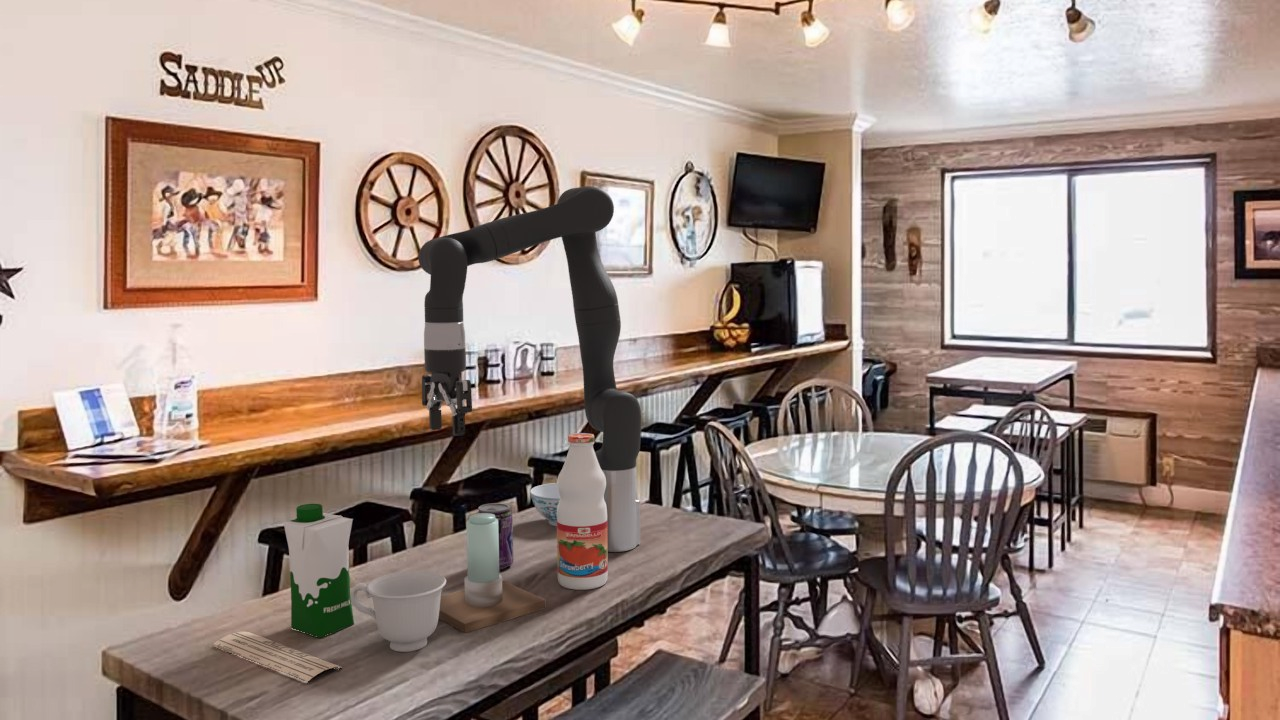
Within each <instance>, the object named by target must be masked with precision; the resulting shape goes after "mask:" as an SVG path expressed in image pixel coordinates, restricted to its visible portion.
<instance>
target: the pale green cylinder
mask: <svg viewBox="0 0 1280 720" xmlns="http://www.w3.org/2000/svg"><path fill="white" fill-rule="evenodd" d="M468 518H469V519H468V520H467V521H466V523H465V525H466V558H467V561H466V563H467V576H468V580H469V581H471V582H474V583H488V582H493V581H495V580H497V579H499V574H500V570H499V533H498V519H496V518H495V515H494V514H490V513H479V514H478V513H474V514H472V515H470V516H469V517H468Z"/></svg>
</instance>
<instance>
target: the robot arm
mask: <svg viewBox="0 0 1280 720" xmlns="http://www.w3.org/2000/svg"><path fill="white" fill-rule="evenodd" d="M614 213H615V205H614V202H613V199H612V198H611V196H610V194H609V193H608V192H607V191H606V190H604V189H602V188H600V187H597V186H590V185H589V186H587V185H585V186H579V187H574V188H573V187H572V188H569V189H567V190H565V191H564V192H562V194H560V196H559V198H558V200H557V202H556V203H555V204H552V205H550V206H547V207H543V208H539V209H536V210H532V211H527V212H523V213H518V214H514V215H509V216H506V217H501V218H499V219H496V220H491V221H489V222H485V223H483V224H480V225H477V226H474V227H472V228H469V229H468V230H467V229H466V230H464V231H460V232H455V233H451V234H446V235H442V236H438V237H435V238H432V239H429V240H428V241H426V242H425V243H424V244H423V245H422V246H421V248H420V249H419V252H418V263H419V266H420V268H421V269H422V270H423V271H424V272H425V273H426V274H428V275H430V283H429V285H430V286H429V291H427V292H426V293H425V297H424V330H423V349H424V351H423V353H424V371H425V372H426V373H429V374H424V375H422V376H421V405H422V406H424V407H425V406H426V410H427V411H429V412H428V415H429V416H428V417H429V419H428V420H429V421H428V422H429V430H430V431H439V430H441V429H442V427H443V426H442V424H443V423H442V422H443V420H442V409H441V408H442V405H443V403H444V402H445V404H446V406H447V407H449V408H450V411H451V414H452V417H451V418H452V419H451V420H452V435H453V436H455V437H459V436H464V435H465V434H466V415H467V414H468V413H472V412H473V401H472V399H473V397H472V382H471V380H470V379H464V380H462V378H461V373H463V372H464V371H466V368H467V365H466V364H467V360H466V331H465V326H464V325H465V324H464V301H463V296H464V291H465V288H466V281H467V274H468V267H469V266H473V265H475V264H485V263H489V262H493V261H495V260H499V259H501V258H504V257H506V256H507V257H508V256H510V255H512V254H515V253H518V252H521V251H523V250H527V249H528V248H532V247H535V246H537V245H540V244H543V243H545V242H548V241H551V240H556V239H559V238H561V240H562V244H563V249H564V252H565V256H566V262H567V267H568V274H569V275H568V276H569V284H570V290H571V295H572V306H573V313H574V314H573V315H574V319H575V326H576V330H577V331H576V332H577V336H578V344H579V352H580V358H581V359H580V360H581V365H582V377H583V399H584V400H583V401H584V405H583V406H584V414H585V417H586V420H587V422H588V423H589V425H590V427H592V428H593V429H594V430H595V431H598V432H602V443H601V444H602V445H601V448H600V449H598V450H596V451H595V454H596V457H597V460H598V463H599V465H600V468H601V469H602V471H603V473H604V474H605V477H606V489H605V492H604V500H605V503H606V506H607V551H608V552H610V553H611V552H613V553H616V552H617V553H619V552H626V551H630V550H634V549H635V548H636V547H637V546H638V544H639V545H640V544H641V501H640V500H639V499H637V458H638V456H639V454H640V450H641V436H642V433H641V432H642V410H641V405H640V403H639V401H638V399H637V398H636V397H635V396H634V395H633V394H631V393H630V392H628V391H627V392H626V391H623V390H622V391H621V390H618V386H617V383H616V377H615V372H614V369H615V367H614V359H615V354H616V349H617V346H618V343H619V340H620V337H621V336H620V335H621V326H622V324H621V323H622V322H621V315H620V308H619V300H618V295H617V291H616V289H615V286H614V284H613V281H612V280H611V278H610V276H609V274H608V272H607V270H606V268H605V266H604V264H603V262H602V259H601V256H600V253H599V248H598V240H597V233H598V232H600V231H601V230H603V229H605V228H606V227H607V226H608V225H609V224H611V223H610V222H611V221H612V219H613V217H614ZM465 401H466V402H465Z"/></svg>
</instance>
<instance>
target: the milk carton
mask: <svg viewBox="0 0 1280 720" xmlns="http://www.w3.org/2000/svg"><path fill="white" fill-rule="evenodd" d="M295 511H296V518H295V519H292V520H289V521H286V522H284V523H283V527H284V532H285V537H286V541H287V546H288V553H289V555H288V556H289V575H290V576H289V579H290V580H289V581H290V598H291V599H290V601H291V607H290V608H291V609H290V614H291V615H290V617H291V618H290V619H291V620H290V623H291V624H290V625H291V626H290V629H291V628H293V629H296V630H299V631H302V632H305V633H308V634H311V635H313V636H312V637H314V636H317V637H322V638H324V637H326V636H325V635H327V634H329V635H331V634H333V632H334V633H336V632H338V631H337V630H339V631H340V629H341V630H343V629H346V628H347V627H351V626H353V625H355V622H354V621H355V620H354V614H353V604H352V602H351V599H350V594H351V577H350V556H349V555H350V554H349V551H350V550H349V545H350V544H349V543H350V542H349V541H350V536H351V531H352V526H353V520H354V518H349V517H345V516H344V517H343V516H342V515H340V514H339V515H336V514H332V513H326V512H323V505H322V504H321V503H307V504H301V505H298V506H297V507H296V510H295ZM350 625H351V626H350ZM345 627H346V628H345ZM342 628H343V629H342ZM335 631H336V632H335ZM330 633H331V634H330ZM311 635H310V636H311ZM323 636H324V637H323ZM327 636H328V635H327ZM317 637H316V638H317Z"/></svg>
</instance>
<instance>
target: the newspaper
mask: <svg viewBox="0 0 1280 720" xmlns="http://www.w3.org/2000/svg"><path fill="white" fill-rule="evenodd" d="M213 646H214V647H218V648H220V649H223V650H224V651H227V652H230V653H233V654H236V655H239V656H241V657H243V658H245V659H248V660H251V661H254V662H257V663H259V664H261V665H265V666H268V667H270V668H273V669H275V670H278V671H281V672H284V673H286V674H289V675H291V676H294V677H296V678H299V679H301V680H303V681H306V682H308V681H309V682H310V681H311V680H312V679H313V678H314V677H316V676H317V675H318V674H322V672H324V671H327V670H329V669H332V668H335V669H339V668H338V667H340V668H342V669H343V667H342V666H341V665H338V664H335V663H332V662H330V661H327V660H324V659H322V658H320V657H316V656H313V655H311V654H308V653H306V652H302V651H300V650H297V649H295V648H292V647H289V646H287V645H285V644H281V643H279V642H276V641H275V640H274V641H273V640H270V639H268V638H265V637H263V636H260V635H258V634H255V633H252V632H249V631H237V632H233V633H229V634H227V635H226V636H223V637H221V638H220V639H218V640H217V641H214V643H213V645H212V647H213ZM214 647H213V648H214ZM224 651H223V652H224ZM227 652H226V653H227ZM309 682H308V683H309Z"/></svg>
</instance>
